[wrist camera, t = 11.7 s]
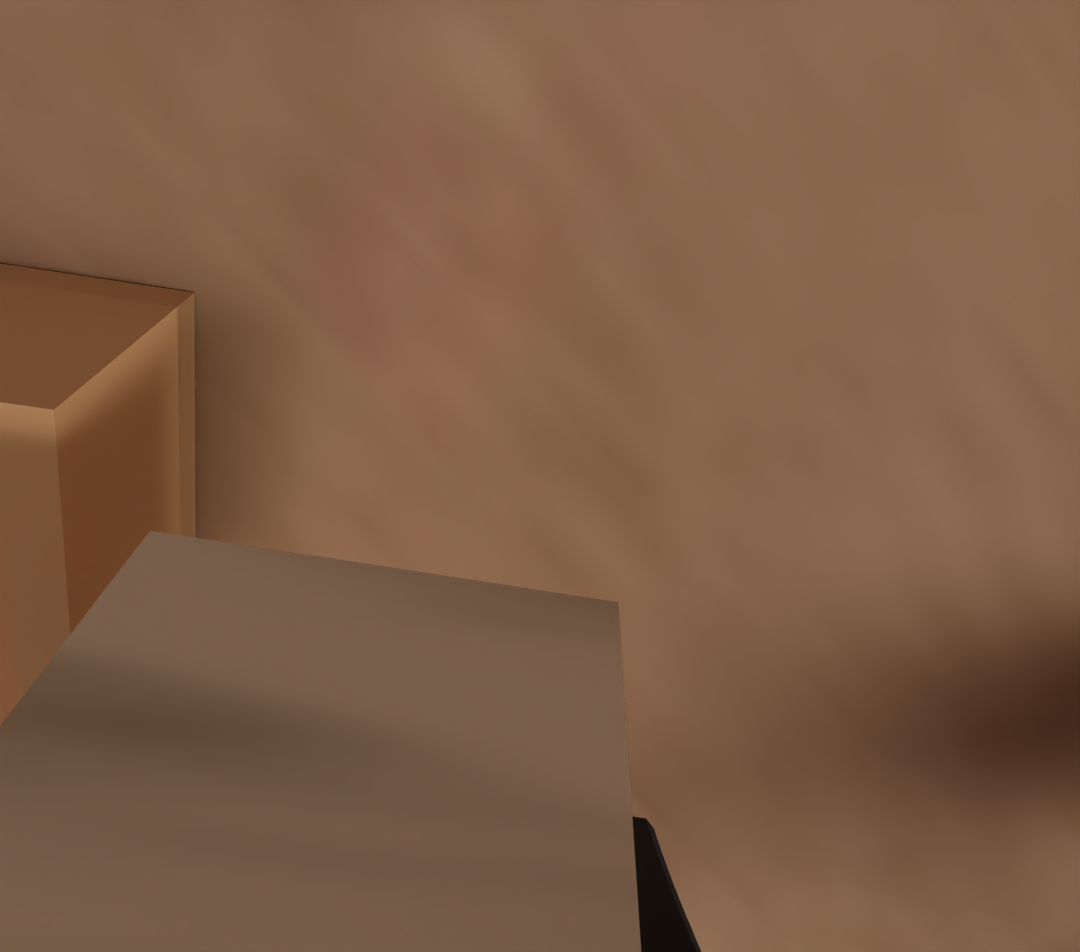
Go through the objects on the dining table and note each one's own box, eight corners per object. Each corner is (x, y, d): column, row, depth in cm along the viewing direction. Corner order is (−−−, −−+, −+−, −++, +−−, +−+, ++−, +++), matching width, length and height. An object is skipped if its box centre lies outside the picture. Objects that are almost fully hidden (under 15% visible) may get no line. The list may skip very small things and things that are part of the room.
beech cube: (543, 923, 13) (527, 1418, 9) (154, 869, 13) (-71, 1345, 8) (617, 603, 11) (646, 1041, 6) (151, 531, 11) (-160, 934, 6)
